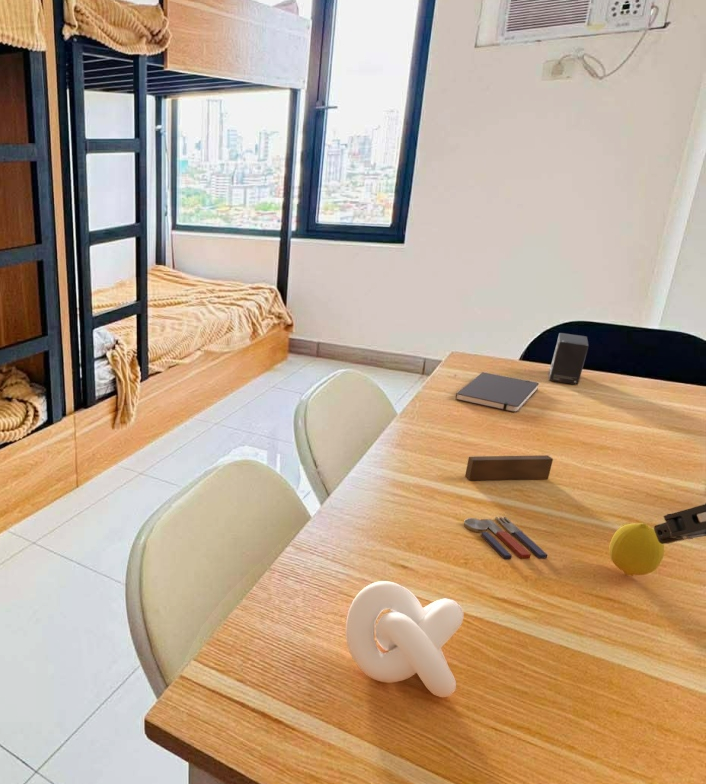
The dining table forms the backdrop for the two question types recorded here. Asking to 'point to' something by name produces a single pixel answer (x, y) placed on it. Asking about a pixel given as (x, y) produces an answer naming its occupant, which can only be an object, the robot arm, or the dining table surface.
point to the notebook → (498, 392)
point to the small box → (568, 358)
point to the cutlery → (505, 537)
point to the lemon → (636, 549)
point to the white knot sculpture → (402, 636)
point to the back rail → (508, 467)
